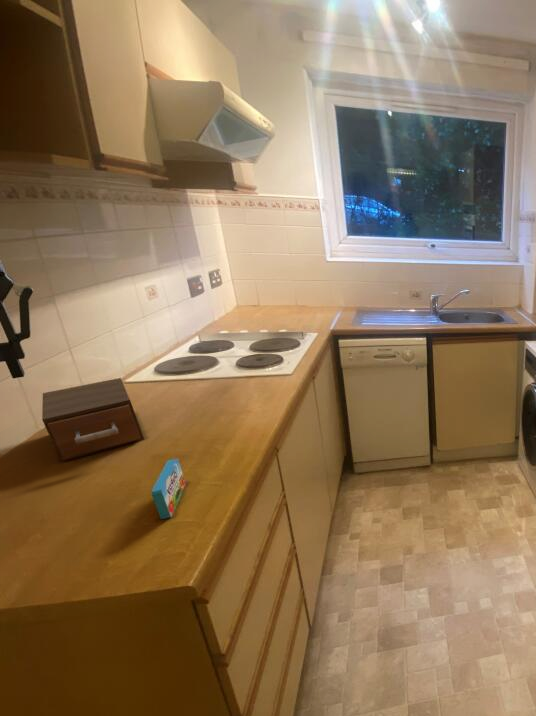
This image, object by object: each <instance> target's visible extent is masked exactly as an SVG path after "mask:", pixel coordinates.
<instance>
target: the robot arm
mask: <svg viewBox="0 0 536 716" xmlns="http://www.w3.org/2000/svg"><path fill="white" fill-rule="evenodd" d="M12 290H14V295H15V296H17V297H19V299H18V307H19V308H18V309H19V326H20V327H19V328H20V329H19V331H20V332H17V330H16V328H15V326H14V323H13V320H12V318H11V316H10V313H9V312H8V309H7V306H6V304H5V300H6V299H7V297H8V295H9V293H10V292H11V291H12ZM33 293H34V288H33V287H32V286H29V285H28V286H26V285H22V284H19V283H16V282H15V281H14V280H13V278H11V277H10V276H9V275H8V273H7V271H6V270H5V267H4V265H3V262H2V260H1V258H0V325H1V327H2V330H3V332H4V335H5V337H6V339H7V341H5V342H0V363H4V362H5V364H6V367H7V369H8V372H9V374H10V376H11V378H12V379H20V378H24V377H25V374H26V373H25V370H24V368H23V366H22V364H21V361H20V360H23V359H26V358H25V357H26V352H25V350H24V347H23V345H22V343H21V342H22V341H24V340H28V339H30V338H31V312H30V309H31V308H30V299H31V297H32V295H33Z"/></svg>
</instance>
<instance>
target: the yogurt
mask: <svg viewBox="0 0 536 716" xmlns="http://www.w3.org/2000/svg"><path fill="white" fill-rule="evenodd" d="M186 482H187V481H186V479H185V476H184V472H183V470H182V467H181V464H180V461H179V458H173V459H168V460H167V461H166V463H165V465H164V467H163V469H162V471H161V473H160V475H159V476H158V478H157V481H156V483H155V484H154V486H153V488H152V490H151V497H152V499H153V501H154V504H155V507H156V510H157V512H158V515H159V517H160V520H165V519H169V518H172V517H173V515H174V514H175V510H176V507H177V505H178V503H179V501H180V498H181V495H182V493H183V491H184V489H185V486H186Z"/></svg>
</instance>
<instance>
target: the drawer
mask: <svg viewBox="0 0 536 716" xmlns="http://www.w3.org/2000/svg"><path fill="white" fill-rule="evenodd" d="M48 426H49V428H50V430H51V433H52V435H53V437H54V439H55V441H56V444H57V446H58V448H59V450H60V452H61V455H62V457H63V459H68V458H71V457H75V456H79V455H82V454H86V453H90V452H93V451H97V450H101V449H104V448H108V447H112V446H115V445H119V444H123V443H126V442H130V441H134V440H137V439H141V438H140V435H139V432H138V429H137V427H136V424H135V421H134V419H133V416H132V413H131V410H130V408H129V405H128V404H127V405H121V406H116V407H112V408H107V409H105V410H101V411H96V412H92V413H88V414H83V415H79V416H72V417H68V418H63V419H59V420H55V421H53V422H48Z"/></svg>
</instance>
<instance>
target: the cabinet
mask: <svg viewBox="0 0 536 716" xmlns="http://www.w3.org/2000/svg"><path fill="white" fill-rule="evenodd" d="M127 404H128V405H129V408H130V410H131V413H132V416H133V419H134V421H135V424H136V427H137V429H138V432H139V435H140V438H141V439H137V440H134V441H130V442H126V443H123V444H119V445H115V446H112V447H108V448H104V449H101V450H97V451H93V452H90V453H86V454H82V455H79V456H75V457H71V458H68V459H63V457H62V455H61V452H60V450H59V448H58V446H57V444H56V441H55V439H54V437H53V435H52V433H51V430H50V428H49V426H48V422H53V421H55V420H59V419H63V418H68V417H72V416H77V415H81V414H85V413H90V412H94V411H99V410H103V409H107V408H112V407H116V406H121V405H127ZM41 405H42V407H41V408H42V411H41V412H42V413H41V420H42V423H43V425H44V427H45V429H46V431H47V433H48V436H49V438H50V441H51V443H52V444H53V447H54V449H55V452H56V453H57V455H58V457H59V460H60V462H61V463H63V462H68V461H70V460H74V459H77V458H81V457H85V456H89V455H93V454H96V453H100V452H103V451H106V450H107V451H108V450H111V449H114V448H118V447H121V446H125V445H129V444H133V443H135V442H140V441H143V440H145V436H144V434H143V432H142V428H141V426H140V423H139V420H138V417H137V415H136V412H135V409H134V406H133V404H132V401H131V398H130V395H129V394H128V391H127V390H126V386H125V384H124V382H123V380H122V378H121V377H119V378H114V379H108V380H102V381H97V382H92V383H87V384H83V385H78V386H77V385H76V386H71V387H66V388H62V389H57V390H52V391H47V392H43V393H42V404H41Z"/></svg>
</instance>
